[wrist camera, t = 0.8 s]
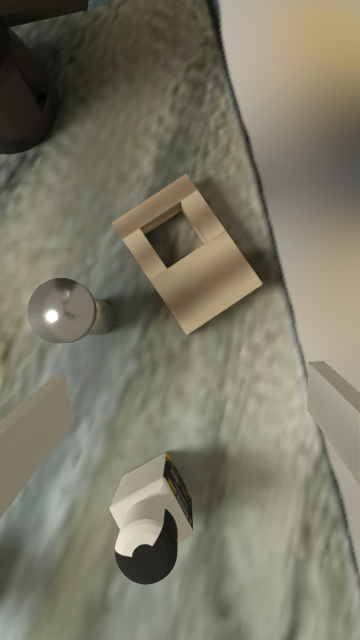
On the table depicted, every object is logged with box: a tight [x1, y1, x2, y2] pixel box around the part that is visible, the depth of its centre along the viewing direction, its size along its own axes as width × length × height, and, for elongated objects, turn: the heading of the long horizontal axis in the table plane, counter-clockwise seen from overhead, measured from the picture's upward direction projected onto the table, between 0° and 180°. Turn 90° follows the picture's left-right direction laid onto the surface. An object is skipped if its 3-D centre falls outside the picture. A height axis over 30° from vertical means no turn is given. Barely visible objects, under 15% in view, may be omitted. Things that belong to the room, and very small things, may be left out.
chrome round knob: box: [28, 278, 116, 343], centre depth 33 cm, size 6×6×12 cm
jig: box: [112, 174, 263, 335], centre depth 38 cm, size 18×12×3 cm, turn 34°
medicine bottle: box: [110, 452, 193, 584], centre depth 32 cm, size 7×7×12 cm
